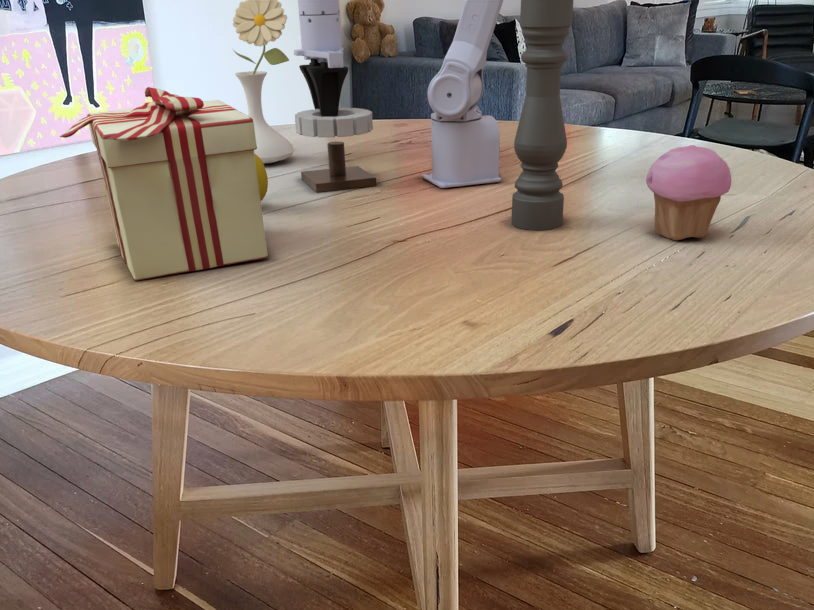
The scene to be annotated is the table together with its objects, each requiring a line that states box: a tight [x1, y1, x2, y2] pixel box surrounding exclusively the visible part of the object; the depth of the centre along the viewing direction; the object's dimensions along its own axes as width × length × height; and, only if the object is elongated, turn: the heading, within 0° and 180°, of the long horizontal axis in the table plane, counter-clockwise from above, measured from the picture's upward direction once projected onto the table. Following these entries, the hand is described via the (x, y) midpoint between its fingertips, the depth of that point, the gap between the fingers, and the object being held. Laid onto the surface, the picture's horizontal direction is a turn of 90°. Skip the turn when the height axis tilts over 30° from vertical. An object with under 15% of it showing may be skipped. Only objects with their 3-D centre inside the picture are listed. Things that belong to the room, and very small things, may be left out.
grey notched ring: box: [294, 107, 374, 138], centre depth 118 cm, size 11×11×2 cm
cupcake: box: [645, 144, 732, 241], centre depth 91 cm, size 9×9×10 cm
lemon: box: [254, 154, 269, 202], centre depth 108 cm, size 6×6×8 cm
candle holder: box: [511, 0, 574, 231], centre depth 94 cm, size 6×6×25 cm
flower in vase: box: [232, 0, 295, 165], centre depth 131 cm, size 13×11×25 cm
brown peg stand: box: [300, 141, 377, 193], centre depth 121 cm, size 9×9×6 cm
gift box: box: [59, 86, 269, 282], centre depth 88 cm, size 17×18×17 cm
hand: (326, 116), depth 121 cm, fingers closed on grey notched ring, 3 cm apart
